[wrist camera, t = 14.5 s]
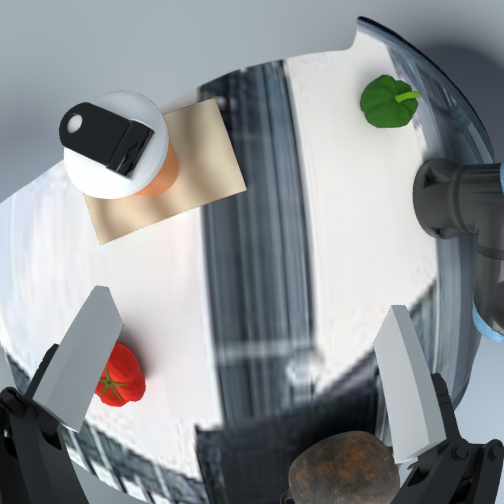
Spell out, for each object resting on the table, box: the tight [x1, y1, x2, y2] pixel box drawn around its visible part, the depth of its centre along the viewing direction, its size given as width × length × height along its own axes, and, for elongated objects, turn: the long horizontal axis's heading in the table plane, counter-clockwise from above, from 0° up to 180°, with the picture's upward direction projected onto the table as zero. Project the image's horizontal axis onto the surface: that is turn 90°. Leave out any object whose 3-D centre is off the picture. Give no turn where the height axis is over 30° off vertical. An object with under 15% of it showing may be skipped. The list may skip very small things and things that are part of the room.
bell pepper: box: [360, 75, 421, 128], centre depth 35 cm, size 8×8×10 cm
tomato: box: [94, 343, 146, 407], centre depth 37 cm, size 10×11×6 cm
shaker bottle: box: [59, 90, 179, 200], centre depth 25 cm, size 9×9×20 cm
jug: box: [280, 431, 403, 504], centre depth 35 cm, size 24×21×30 cm
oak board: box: [83, 98, 247, 245], centre depth 36 cm, size 22×14×2 cm, turn 108°
